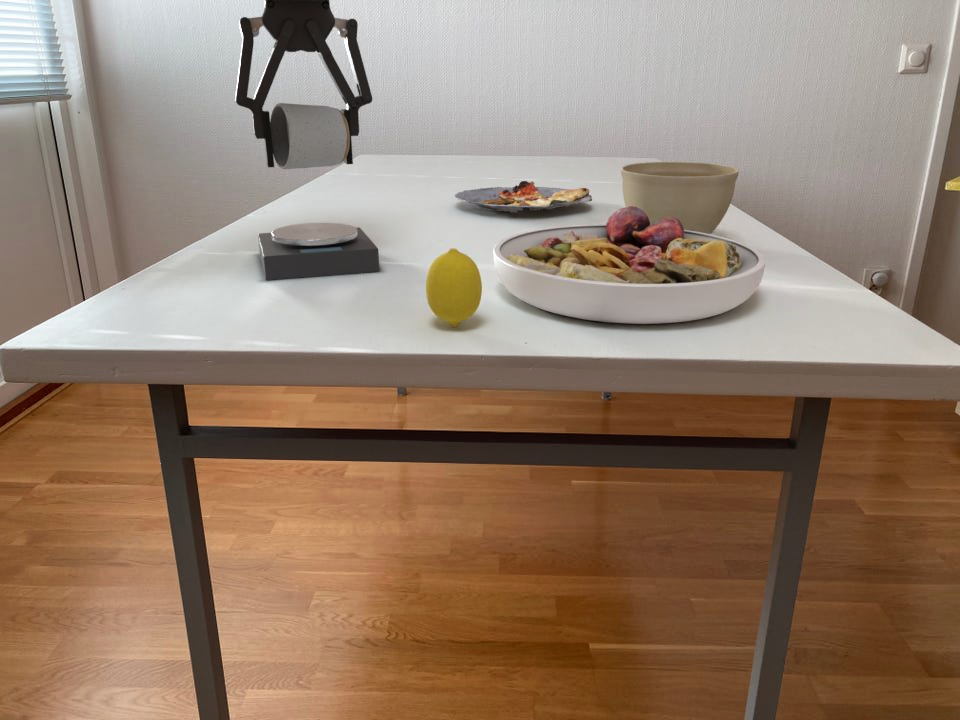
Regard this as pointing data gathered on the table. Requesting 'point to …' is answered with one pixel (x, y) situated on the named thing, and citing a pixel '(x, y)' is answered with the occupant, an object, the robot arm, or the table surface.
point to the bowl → (628, 270)
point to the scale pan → (314, 234)
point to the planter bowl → (681, 192)
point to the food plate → (524, 197)
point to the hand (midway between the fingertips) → (309, 164)
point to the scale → (317, 258)
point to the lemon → (453, 287)
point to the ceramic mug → (308, 136)
